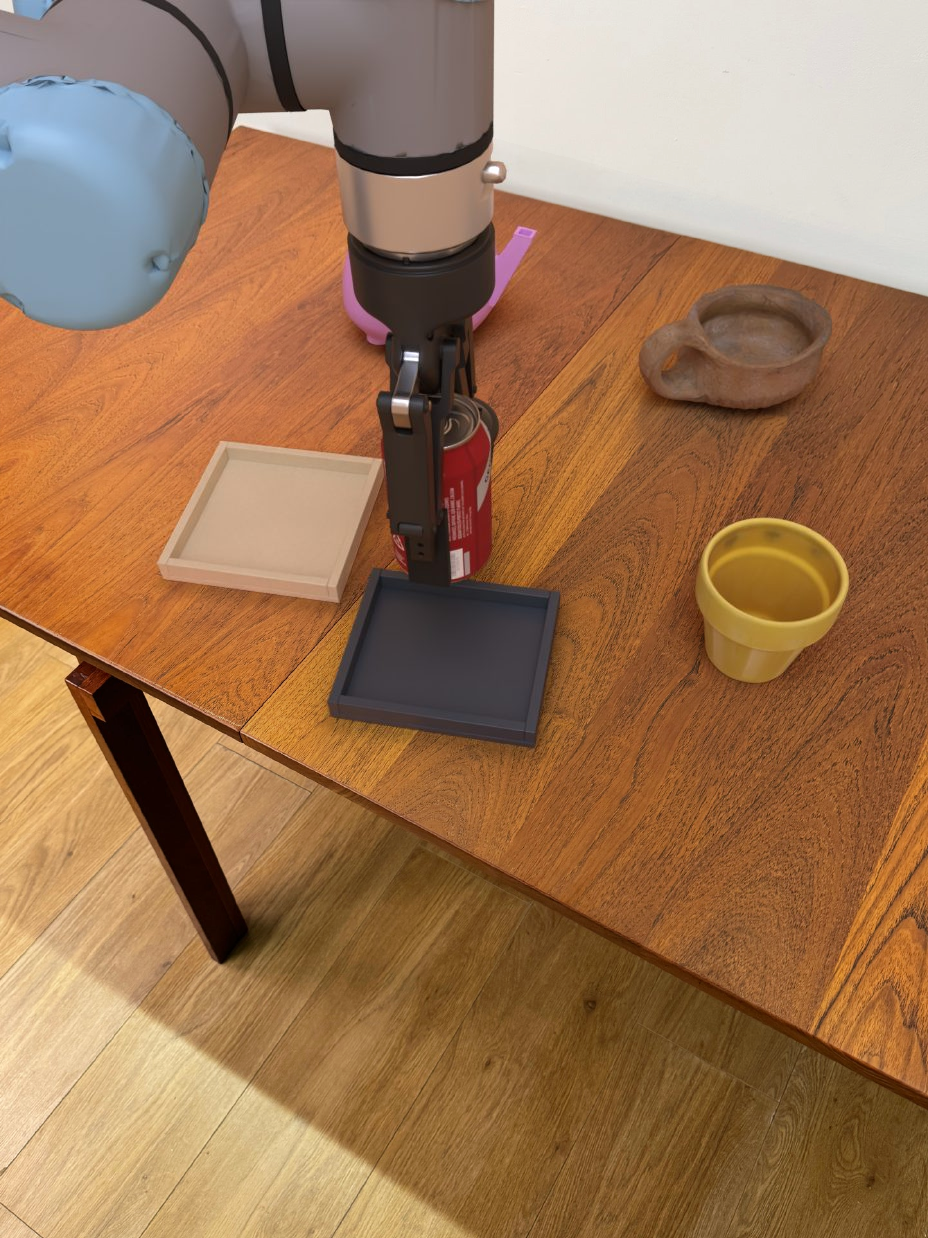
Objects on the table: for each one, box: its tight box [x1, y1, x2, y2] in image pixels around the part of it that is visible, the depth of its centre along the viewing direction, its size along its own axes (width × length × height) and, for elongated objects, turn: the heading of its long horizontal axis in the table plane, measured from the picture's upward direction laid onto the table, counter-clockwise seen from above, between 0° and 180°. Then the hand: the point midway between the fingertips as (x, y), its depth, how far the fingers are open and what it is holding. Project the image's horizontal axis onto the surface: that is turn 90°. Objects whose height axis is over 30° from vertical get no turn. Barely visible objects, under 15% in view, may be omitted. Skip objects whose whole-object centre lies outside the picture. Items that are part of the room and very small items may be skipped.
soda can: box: [380, 392, 493, 584], centre depth 64 cm, size 7×7×12 cm
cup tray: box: [156, 440, 385, 604], centre depth 88 cm, size 16×16×2 cm
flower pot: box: [694, 517, 850, 684], centre depth 75 cm, size 10×10×10 cm
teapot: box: [341, 225, 538, 346], centre depth 100 cm, size 20×20×15 cm
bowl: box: [638, 283, 833, 410], centre depth 95 cm, size 18×14×10 cm
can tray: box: [327, 567, 561, 749], centre depth 78 cm, size 16×14×2 cm
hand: (442, 539), depth 68 cm, fingers closed on soda can, 7 cm apart
